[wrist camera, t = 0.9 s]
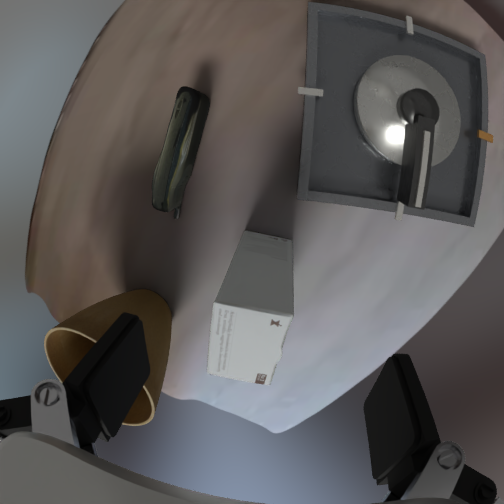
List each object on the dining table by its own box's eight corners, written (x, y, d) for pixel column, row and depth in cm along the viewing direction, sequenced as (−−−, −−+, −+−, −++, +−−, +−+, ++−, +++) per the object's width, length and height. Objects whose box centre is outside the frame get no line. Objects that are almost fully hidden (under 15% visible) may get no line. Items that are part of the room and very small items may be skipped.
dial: (354, 49, 22) (367, 31, 17) (452, 77, 21) (477, 69, 16) (345, 189, 28) (356, 199, 23) (441, 205, 26) (465, 219, 21)
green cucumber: (173, 83, 23) (143, 223, 29) (201, 87, 23) (167, 231, 29) (190, 92, 28) (162, 213, 33) (215, 96, 28) (184, 219, 33)
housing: (301, 6, 22) (301, -6, 19) (478, 55, 19) (490, 51, 17) (289, 200, 31) (289, 206, 28) (466, 226, 28) (478, 234, 25)
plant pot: (200, 356, 41) (164, 439, 27) (118, 337, 43) (69, 402, 28) (194, 269, 36) (136, 351, 21) (101, 257, 37) (27, 314, 23)
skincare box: (244, 228, 33) (208, 293, 19) (296, 239, 32) (296, 312, 19) (234, 291, 36) (201, 375, 22) (281, 301, 36) (270, 390, 22)
